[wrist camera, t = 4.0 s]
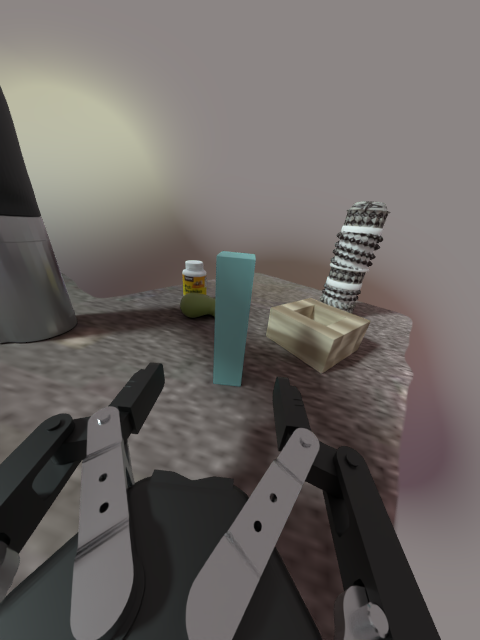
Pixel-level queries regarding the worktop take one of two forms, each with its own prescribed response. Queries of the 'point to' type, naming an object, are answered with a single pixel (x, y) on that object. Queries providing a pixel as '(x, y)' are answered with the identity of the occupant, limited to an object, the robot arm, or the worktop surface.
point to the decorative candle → (354, 254)
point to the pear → (197, 305)
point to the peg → (232, 315)
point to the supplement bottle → (194, 278)
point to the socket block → (316, 332)
